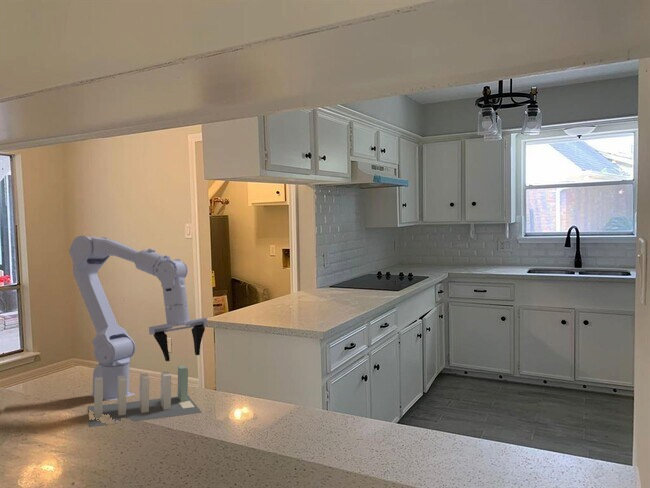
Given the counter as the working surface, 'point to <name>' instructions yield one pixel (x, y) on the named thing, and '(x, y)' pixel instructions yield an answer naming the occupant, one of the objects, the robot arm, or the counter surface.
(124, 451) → the counter surface
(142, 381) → the domino
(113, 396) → the robot arm
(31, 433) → the counter surface
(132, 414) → the mat
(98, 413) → the domino
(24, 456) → the counter surface
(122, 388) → the domino
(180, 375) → the domino
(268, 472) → the counter surface
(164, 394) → the domino
